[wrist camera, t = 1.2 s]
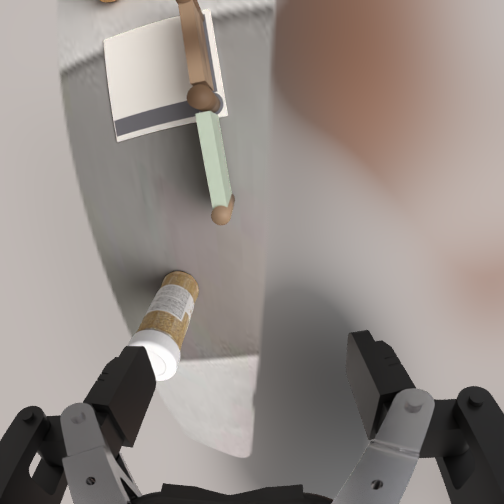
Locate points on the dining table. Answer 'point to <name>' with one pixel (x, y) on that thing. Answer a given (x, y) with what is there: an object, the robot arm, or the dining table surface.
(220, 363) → the dining table surface
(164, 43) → the card
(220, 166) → the swing panel
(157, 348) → the sprinkles bottle
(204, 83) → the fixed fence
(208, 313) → the dining table surface
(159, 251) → the dining table surface
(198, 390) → the dining table surface
